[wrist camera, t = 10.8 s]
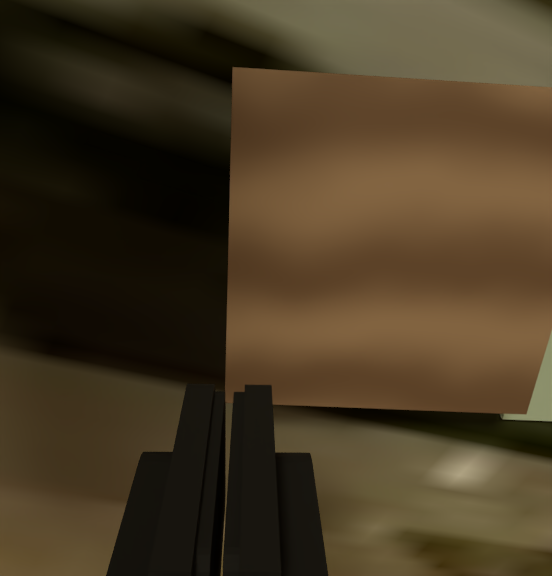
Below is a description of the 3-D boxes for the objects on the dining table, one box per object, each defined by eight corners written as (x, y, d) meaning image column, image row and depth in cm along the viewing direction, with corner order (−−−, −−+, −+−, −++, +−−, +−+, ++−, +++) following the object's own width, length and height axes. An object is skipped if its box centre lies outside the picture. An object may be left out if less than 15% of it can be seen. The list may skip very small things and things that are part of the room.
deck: (238, 69, 24) (232, 67, 20) (569, 90, 24) (623, 92, 21) (230, 362, 30) (224, 402, 26) (494, 373, 30) (526, 414, 27)
